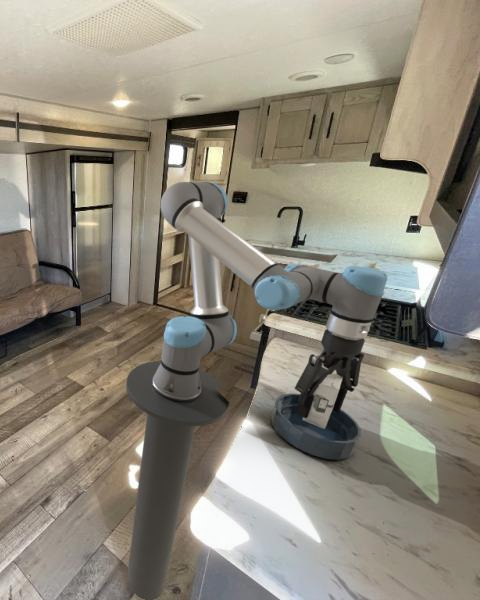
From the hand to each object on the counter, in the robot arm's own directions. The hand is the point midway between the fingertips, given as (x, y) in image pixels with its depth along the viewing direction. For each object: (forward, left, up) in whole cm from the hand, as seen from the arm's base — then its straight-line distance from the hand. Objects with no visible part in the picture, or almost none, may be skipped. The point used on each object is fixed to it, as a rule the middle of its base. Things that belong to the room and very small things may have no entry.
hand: (317, 411), depth 83 cm
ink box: (0, 0, -2) cm, 2 cm away
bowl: (0, 0, -7) cm, 7 cm away
